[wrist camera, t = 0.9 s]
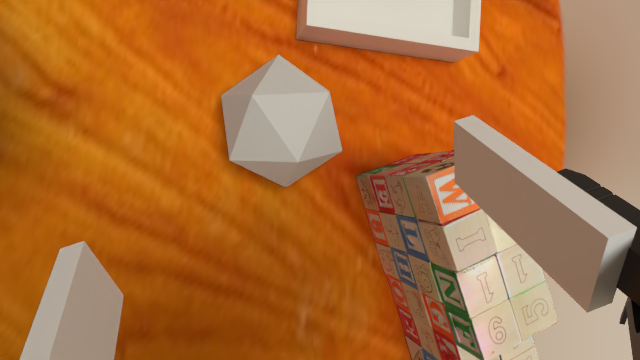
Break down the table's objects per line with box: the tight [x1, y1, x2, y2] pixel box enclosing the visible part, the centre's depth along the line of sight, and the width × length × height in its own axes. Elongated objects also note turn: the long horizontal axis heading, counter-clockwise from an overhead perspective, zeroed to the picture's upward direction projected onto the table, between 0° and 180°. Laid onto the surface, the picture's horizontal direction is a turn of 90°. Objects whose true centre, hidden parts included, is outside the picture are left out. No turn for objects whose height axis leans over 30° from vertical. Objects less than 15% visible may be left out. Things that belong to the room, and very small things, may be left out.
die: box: [221, 55, 342, 187], centre depth 30 cm, size 8×9×10 cm
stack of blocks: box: [356, 150, 558, 360], centre depth 32 cm, size 21×6×12 cm, turn 18°
